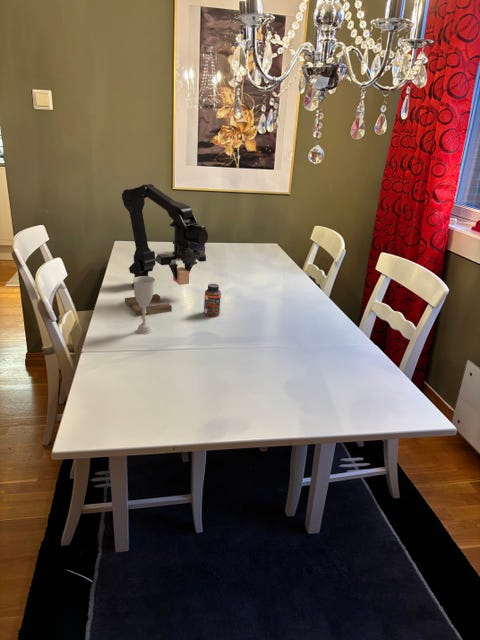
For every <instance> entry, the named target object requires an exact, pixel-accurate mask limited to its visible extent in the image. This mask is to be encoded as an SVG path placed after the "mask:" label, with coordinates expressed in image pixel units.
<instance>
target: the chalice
mask: <svg viewBox="0 0 480 640" xmlns="http://www.w3.org/2000/svg"><path fill="white" fill-rule="evenodd" d="M155 280H156V279H155V277H153V276H149V275H148V276H139V277H135V278H134V277H133V278H132V283H134V286H133V295H134V297H136V300H137V302H138V304H139V305H140V307H142V308H143V310H142V314H143V315H142V316H140V317H141V319H142V322H141V323H140V324H138V327H137V329H136V333H137V334H140V335H149V334H151V333H152V332H153V330H152V327H151V326H150V324H149V323H147V315H146V313H147V312H146V307H147V306H150V301H151V299H152V296H153V294H154V283H155Z"/></svg>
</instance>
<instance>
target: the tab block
mask: <svg viewBox="0 0 480 640" xmlns="http://www.w3.org/2000/svg"><path fill="white" fill-rule="evenodd" d="M172 281H173V282H175V283H176V284H178V285H179V286H181V285H189V284H190V273H189V271H188V270H186V269H185V267H183V266H182V267H180V266H179V267H177V280H175V279H174V276H173V275H172Z"/></svg>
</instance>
